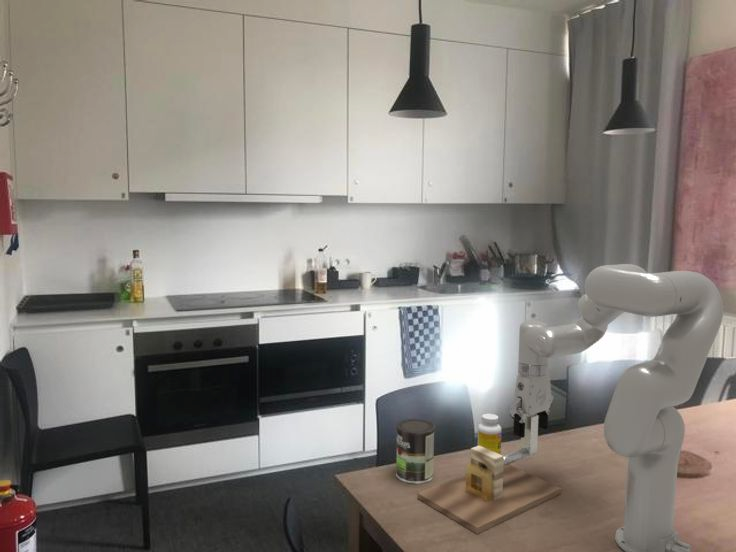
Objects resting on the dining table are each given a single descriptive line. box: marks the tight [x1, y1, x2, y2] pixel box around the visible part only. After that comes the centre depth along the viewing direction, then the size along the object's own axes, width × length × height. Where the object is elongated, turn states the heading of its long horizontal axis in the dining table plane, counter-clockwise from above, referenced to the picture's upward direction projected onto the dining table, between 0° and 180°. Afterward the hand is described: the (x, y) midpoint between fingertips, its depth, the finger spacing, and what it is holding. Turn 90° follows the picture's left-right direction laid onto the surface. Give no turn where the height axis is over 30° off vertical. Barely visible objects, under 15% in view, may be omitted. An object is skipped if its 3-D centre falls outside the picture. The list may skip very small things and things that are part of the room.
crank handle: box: [483, 414, 539, 469], centre depth 152 cm, size 18×3×11 cm, turn 127°
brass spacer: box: [465, 461, 493, 502], centre depth 145 cm, size 7×2×7 cm, turn 37°
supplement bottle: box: [477, 413, 502, 455], centre depth 169 cm, size 7×7×13 cm
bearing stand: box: [416, 445, 562, 535], centre depth 148 cm, size 20×31×12 cm, turn 127°
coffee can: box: [395, 418, 436, 485], centre depth 159 cm, size 10×10×14 cm
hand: (530, 431), depth 156 cm, fingers open, 9 cm apart
